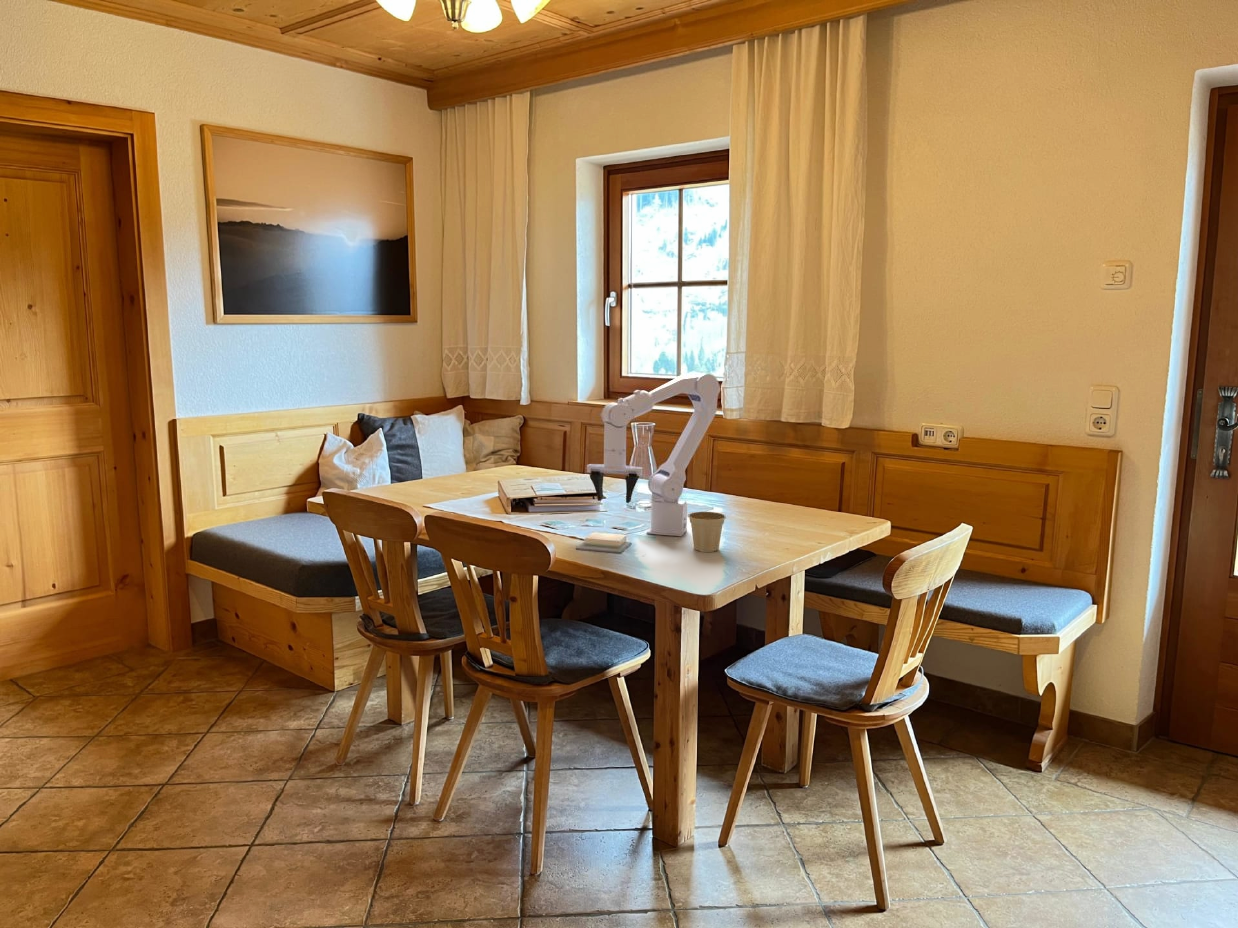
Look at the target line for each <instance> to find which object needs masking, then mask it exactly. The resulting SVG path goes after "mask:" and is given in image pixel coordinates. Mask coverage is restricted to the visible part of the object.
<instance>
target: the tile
mask: <svg viewBox="0 0 1238 928" xmlns="http://www.w3.org/2000/svg"><path fill="white" fill-rule="evenodd" d="M584 542H585V544H587V545H598V546H610V547H620V546H622V545H623V544H624V543H625V542H627V534H617V533H607V532H606V533H605V532H594V531H593V532H592V533H590V534H588V535H587V536H586V537H584Z"/></svg>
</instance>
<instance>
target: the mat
mask: <svg viewBox="0 0 1238 928" xmlns="http://www.w3.org/2000/svg"><path fill="white" fill-rule="evenodd" d="M631 545H632V542H631V541H626V542H625V543H624V544H623V545H622V546H620V547H610V546H598V545H587V544H585V541H583V542H582V543H580V544H579V545H578V546H576V548H575V549H576V550H580V551H589V552H590V551H592V552H601V553H613V554H614V553H615V554H622V553H623V552H624V551H625V550H627V548H629V547H630V546H631Z"/></svg>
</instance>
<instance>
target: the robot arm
mask: <svg viewBox="0 0 1238 928" xmlns="http://www.w3.org/2000/svg"><path fill="white" fill-rule="evenodd" d="M720 391H721V387H720V383H719V381H718V379H717V377H716V376H715V375H713V374H711V373H700V372H698V371H690V372H688V373H686V374H681V375H679V376H678V377H676V378H674V379H672V380H670V381H668V382H666V383H664V384H662V385H661V386H658V387H656V388H655V389H653V390H650V391H649V392H648V391H646V390H640V389H636V390H634V391H633V394H631V395H628V396H626V397H623V398H622V397H619V398H618V399H617V403H616V402H609V403H606V405H604V407H603V408H602V412H600V418H601V420H602V422H603V423H604V426H603V427H604V429H603V431H604V432H603V464H599V463H598V464H597V463H595V464H594V463H589V464H587V465H586V473H590V474H589V478H590V480H591V483H592V485H593V487H594V489H595V492H596V498H597V501H598V502H599V501H600V502H601V501H602V500H603V499H604V494H603V493H604V489H603V488H604V487H603V486H604V485H603V484H604V477H605V474H610V475H611V474H612V475H613V474H614V475H626V476H624V477H625V486H626V487H625V490H626V491H625V492H626V493H625V503H626V504H629V503H631V501H632V496H633V492H634V489H635V486H636V485H637V482H638V480H639V478H640V477H642V476H643V473H644V472H643V471H644V468H643V467H640V466H634V465H633V466H632V465H627V463H626V462H627V426H628V424H629V423H630V421H631V420H634V419H635V418H638V417H639V416H642V415H644V414H646V413H649V412H651V411H652V410H653V408H654V406H655V404H656V403H660V402H663V401H665V400H667V399H669V398H672V397H675V396H677V395H680V394H684V395H685V394H686V396H688V398H689V399H690V401H691V403H692V407H693V409H694V410H693V413H692V415H691V417H690V418H689V420H688V422H687V423H686V425H685V427H684V429H683V431H682V433H681V435H680V437H679V438H678V440H677V442H676V443H675V446H674V448H673V449H672V451H671V453H670V455H669V457H668V458H667V459H666V460H667V461H665V462H664V463H662V464H661V465H660V466H658V467H657V470H656V471H655V472H654V473H652V474H651V475H650V476H649V479H648V481H647V487H648V490H649V491H650V493H651V499H650V502H651V503H650V505H651V507H650V509H651V510H650V528H649V529H647V530H646V534H650V535H658V536H659V535H660V536H661V535H662V536H672V537H673V536H674V537H683V535H685V533H686V531H687V530H688V528H687V526H688V525H687V523H688V521H687V520H688V503H687V501H685V500H680V497H682V494H683V491H684V484H685V481H686V480H687V476H686V469H687V467H688V466H689V464H690V462H691V460H692V458H693V457H694V455H695V452H696V451H697V449H698V448H699V446H700V444H701V441H702V440H703V438H704V437H705V434H706V433H707V430H708V429H709V428H710V427H709V426H710V425H711V423H712V422H713V420H714V418H715V416H716V413H717V411H718V410H717V409H718V408H717V407H718V398H719V397H718V396H719V394H720Z"/></svg>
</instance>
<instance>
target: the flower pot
mask: <svg viewBox="0 0 1238 928" xmlns="http://www.w3.org/2000/svg"><path fill="white" fill-rule="evenodd" d="M687 518H688V519H689V523H690V526H691V533H692V543H693V549H694V550H695V551H700V552H702V553H713V552H715V551H718V550H719V549H720V544H721V543H720V542H721V537H722V529H723V525H724V523H725V519H726V518H727V516H726V515H725V514H724V513H721V512H716V511H694V512H690V513H689V514H688V513H687Z"/></svg>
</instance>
